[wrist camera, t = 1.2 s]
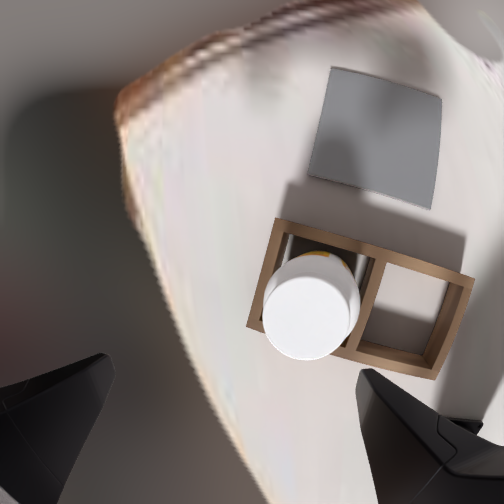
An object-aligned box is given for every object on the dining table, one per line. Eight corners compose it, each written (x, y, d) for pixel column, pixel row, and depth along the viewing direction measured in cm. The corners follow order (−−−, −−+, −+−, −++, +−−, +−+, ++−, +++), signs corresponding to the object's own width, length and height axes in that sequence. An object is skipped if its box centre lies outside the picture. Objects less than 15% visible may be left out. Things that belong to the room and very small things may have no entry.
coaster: (439, 102, 17) (441, 99, 16) (428, 210, 18) (430, 209, 18) (331, 71, 20) (330, 68, 19) (308, 174, 21) (307, 173, 20)
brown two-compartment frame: (460, 274, 18) (475, 278, 15) (425, 365, 19) (434, 380, 16) (282, 220, 22) (275, 217, 19) (256, 316, 23) (245, 326, 20)
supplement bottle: (272, 296, 22) (227, 336, 13) (305, 237, 21) (281, 236, 12) (330, 330, 21) (322, 392, 12) (366, 271, 20) (389, 298, 11)
